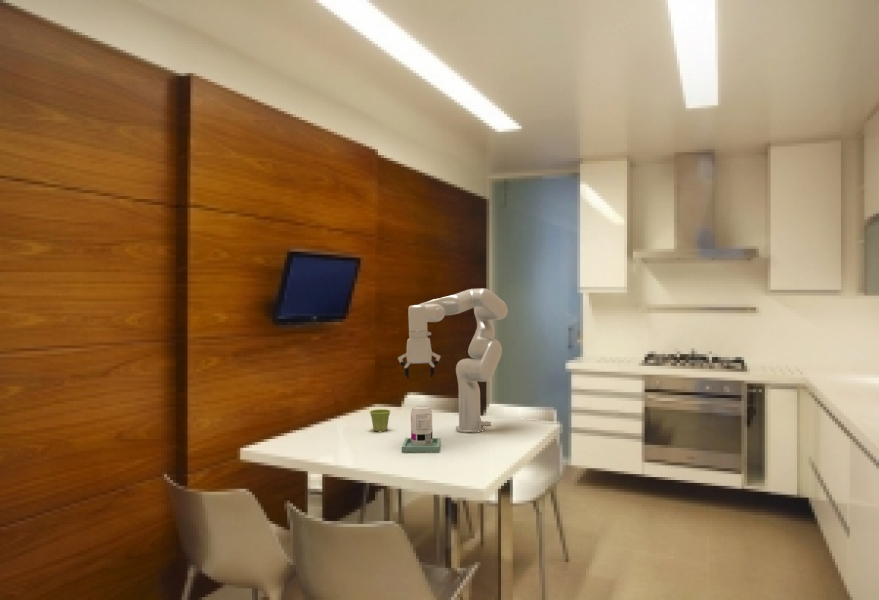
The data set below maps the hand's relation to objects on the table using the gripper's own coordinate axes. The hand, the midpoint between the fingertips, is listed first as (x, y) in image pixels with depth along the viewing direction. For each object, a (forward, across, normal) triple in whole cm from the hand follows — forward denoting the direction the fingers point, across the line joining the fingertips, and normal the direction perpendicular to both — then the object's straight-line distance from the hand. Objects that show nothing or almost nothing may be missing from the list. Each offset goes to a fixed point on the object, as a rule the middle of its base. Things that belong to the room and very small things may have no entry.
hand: (419, 377), depth 220 cm
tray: (+26, 0, +10) cm, 28 cm away
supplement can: (+26, 0, +10) cm, 27 cm away
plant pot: (+26, +20, -22) cm, 39 cm away
